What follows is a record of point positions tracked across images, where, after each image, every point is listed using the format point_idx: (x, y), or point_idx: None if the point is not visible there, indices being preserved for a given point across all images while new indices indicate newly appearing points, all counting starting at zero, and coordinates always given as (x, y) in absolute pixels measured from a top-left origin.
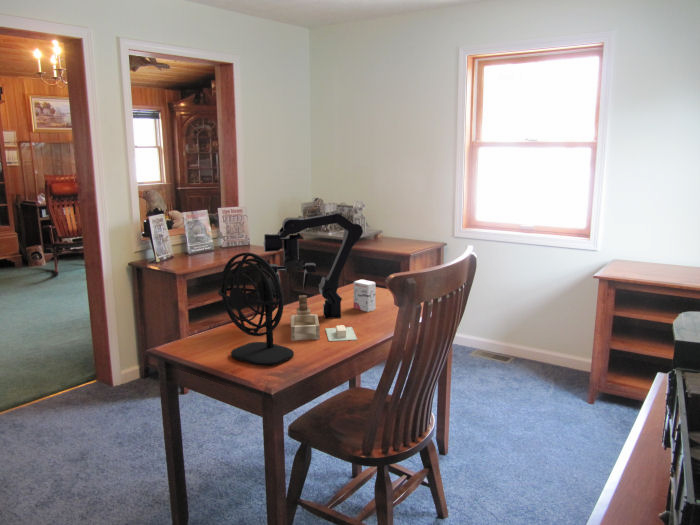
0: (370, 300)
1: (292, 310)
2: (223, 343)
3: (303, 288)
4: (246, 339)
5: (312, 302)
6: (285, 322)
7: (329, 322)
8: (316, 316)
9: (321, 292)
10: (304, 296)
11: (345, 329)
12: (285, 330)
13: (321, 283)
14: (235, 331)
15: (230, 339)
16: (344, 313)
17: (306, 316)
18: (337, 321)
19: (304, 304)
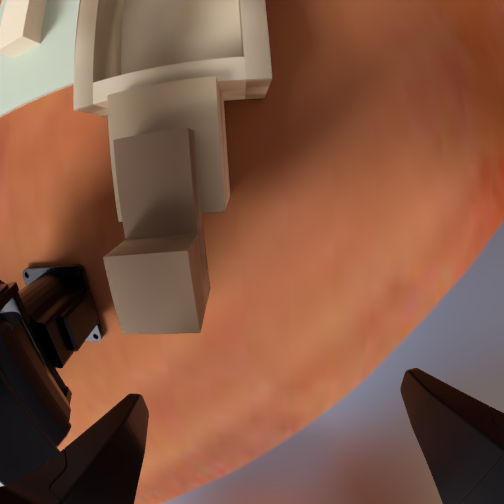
0: None
1: (267, 397)
2: (491, 4)
3: (142, 408)
4: (443, 2)
5: (190, 462)
6: (302, 208)
7: (59, 198)
8: (80, 57)
9: (17, 353)
10: (131, 289)
11: (6, 3)
12: (293, 61)
13: (18, 441)
14: (498, 111)
15: (488, 28)
16: None
17: (147, 72)
18: (31, 215)
19: (141, 177)
